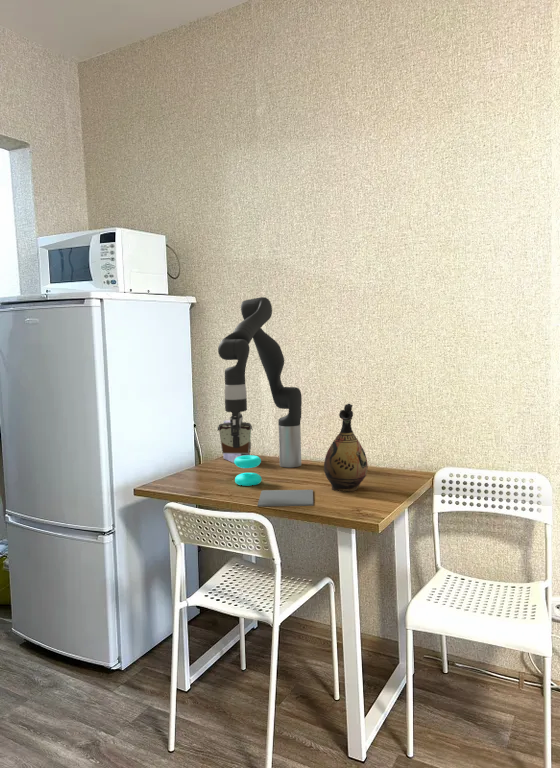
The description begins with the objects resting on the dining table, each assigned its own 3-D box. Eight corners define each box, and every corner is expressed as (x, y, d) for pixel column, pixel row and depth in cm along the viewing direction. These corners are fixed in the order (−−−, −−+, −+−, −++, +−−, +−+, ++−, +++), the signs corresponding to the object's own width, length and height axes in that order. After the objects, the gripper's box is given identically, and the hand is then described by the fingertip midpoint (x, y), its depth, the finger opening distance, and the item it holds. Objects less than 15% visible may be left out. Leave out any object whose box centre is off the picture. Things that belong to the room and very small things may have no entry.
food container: (257, 449, 213) (256, 421, 212) (253, 453, 207) (252, 424, 206) (223, 449, 215) (221, 421, 214) (218, 453, 209) (217, 424, 208)
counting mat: (261, 492, 214) (261, 490, 214) (312, 491, 213) (312, 489, 213) (257, 506, 196) (257, 504, 196) (313, 505, 195) (313, 503, 195)
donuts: (238, 454, 233) (263, 454, 230) (239, 480, 233) (264, 480, 231) (230, 459, 223) (257, 460, 221) (231, 486, 224) (258, 487, 222)
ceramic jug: (367, 494, 207) (365, 407, 205) (322, 493, 210) (320, 407, 207) (369, 482, 224) (367, 401, 221) (327, 481, 227) (325, 401, 224)
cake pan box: (252, 465, 260) (251, 424, 258) (241, 466, 257) (240, 425, 256) (232, 458, 276) (231, 419, 275) (222, 459, 274) (221, 420, 272)
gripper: (244, 399, 201) (246, 449, 203) (248, 395, 216) (250, 442, 217) (221, 400, 202) (223, 450, 203) (227, 395, 216) (229, 442, 218)
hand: (237, 445), depth 210 cm, fingers closed on food container, 5 cm apart
